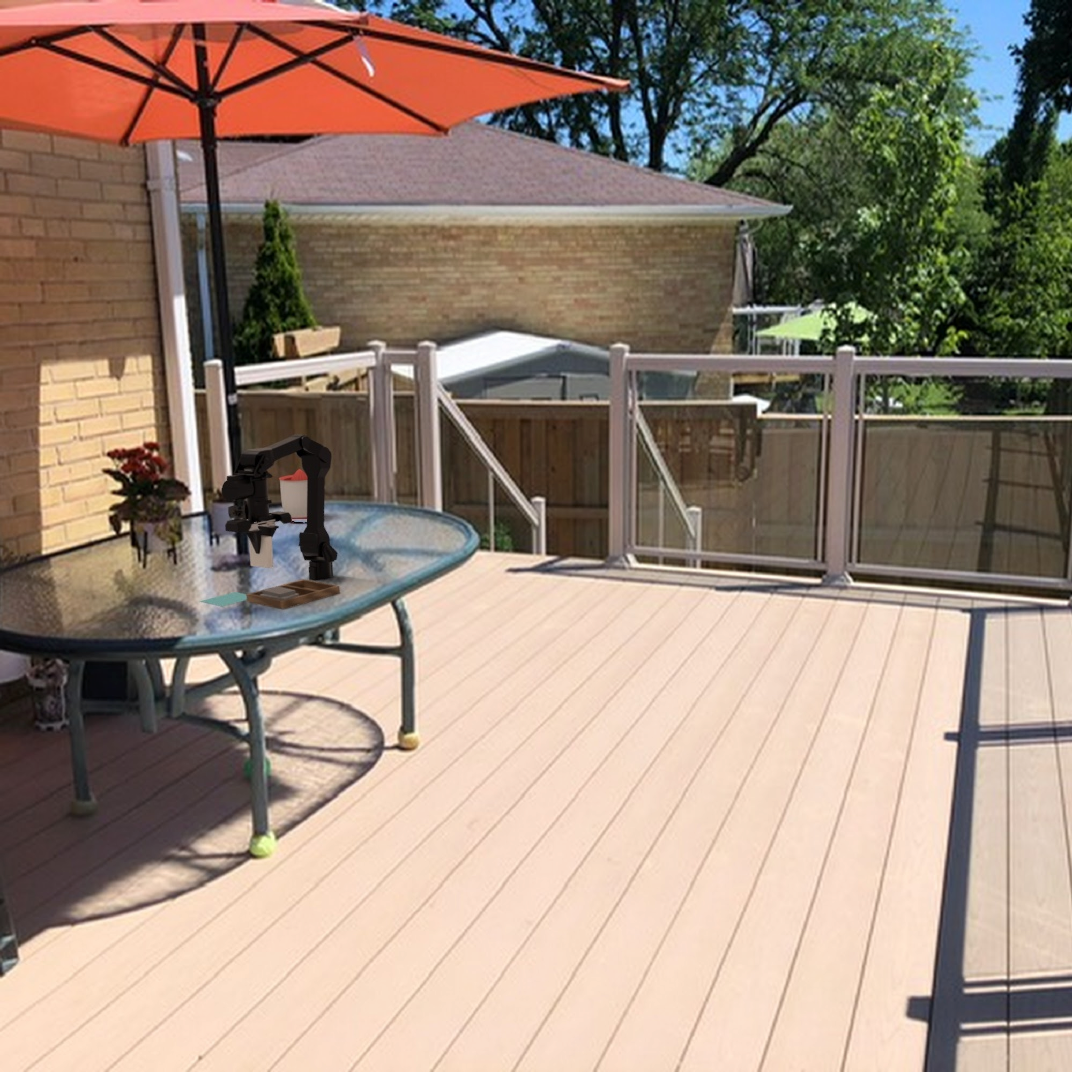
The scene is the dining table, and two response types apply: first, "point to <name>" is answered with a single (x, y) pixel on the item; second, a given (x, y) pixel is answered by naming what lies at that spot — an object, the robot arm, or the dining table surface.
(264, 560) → the beige rectangular block
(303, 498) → the citrus juicer
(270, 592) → the offcut stack
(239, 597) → the mat
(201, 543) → the dining table surface
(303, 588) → the wooden divided tray
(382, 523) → the dining table surface
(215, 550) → the dining table surface
